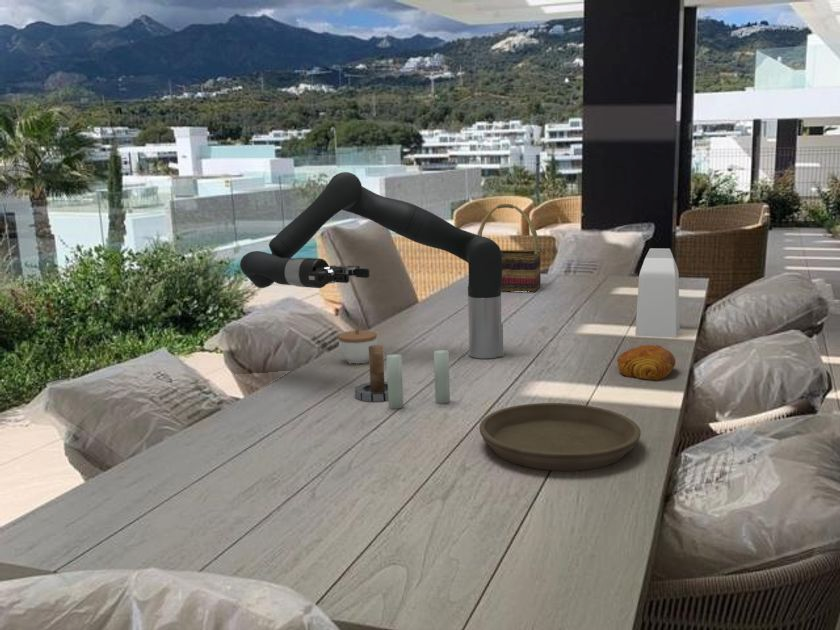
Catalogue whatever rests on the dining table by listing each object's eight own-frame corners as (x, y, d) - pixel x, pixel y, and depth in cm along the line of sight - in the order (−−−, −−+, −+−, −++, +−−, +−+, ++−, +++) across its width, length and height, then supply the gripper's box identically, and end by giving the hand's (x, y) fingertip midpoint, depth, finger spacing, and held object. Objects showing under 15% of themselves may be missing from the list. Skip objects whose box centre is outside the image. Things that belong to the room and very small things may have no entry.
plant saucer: (646, 428, 175) (647, 406, 174) (632, 485, 146) (632, 460, 145) (500, 417, 185) (500, 397, 184) (460, 468, 156) (460, 445, 155)
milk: (635, 335, 256) (636, 250, 251) (640, 327, 267) (642, 246, 262) (676, 337, 252) (678, 251, 247) (679, 329, 262) (682, 246, 257)
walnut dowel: (384, 392, 205) (382, 344, 203) (385, 396, 202) (382, 348, 200) (370, 393, 205) (368, 345, 203) (370, 397, 202) (368, 348, 200)
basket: (471, 291, 343) (469, 205, 336) (480, 285, 357) (478, 202, 350) (535, 293, 335) (535, 204, 328) (542, 287, 348) (541, 202, 342)
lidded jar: (372, 366, 230) (370, 333, 229) (334, 365, 233) (332, 332, 231) (381, 357, 241) (380, 324, 239) (345, 356, 243) (344, 324, 241)
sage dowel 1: (403, 404, 196) (401, 354, 194) (403, 408, 193) (401, 357, 190) (388, 404, 196) (386, 354, 193) (388, 409, 192) (386, 358, 190)
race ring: (399, 387, 209) (399, 380, 209) (401, 400, 199) (401, 393, 198) (355, 389, 209) (355, 382, 208) (355, 402, 198) (354, 395, 198)
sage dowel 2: (449, 399, 198) (447, 349, 196) (450, 403, 195) (449, 353, 193) (434, 399, 198) (433, 350, 196) (436, 404, 195) (434, 353, 193)
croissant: (678, 376, 219) (681, 345, 219) (668, 383, 205) (671, 351, 205) (623, 369, 226) (625, 340, 225) (609, 376, 212) (612, 345, 211)
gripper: (287, 261, 208) (340, 264, 200) (323, 254, 220) (374, 256, 212) (289, 291, 210) (342, 295, 202) (324, 282, 222) (375, 286, 213)
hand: (358, 275), depth 207 cm, fingers open, 8 cm apart
